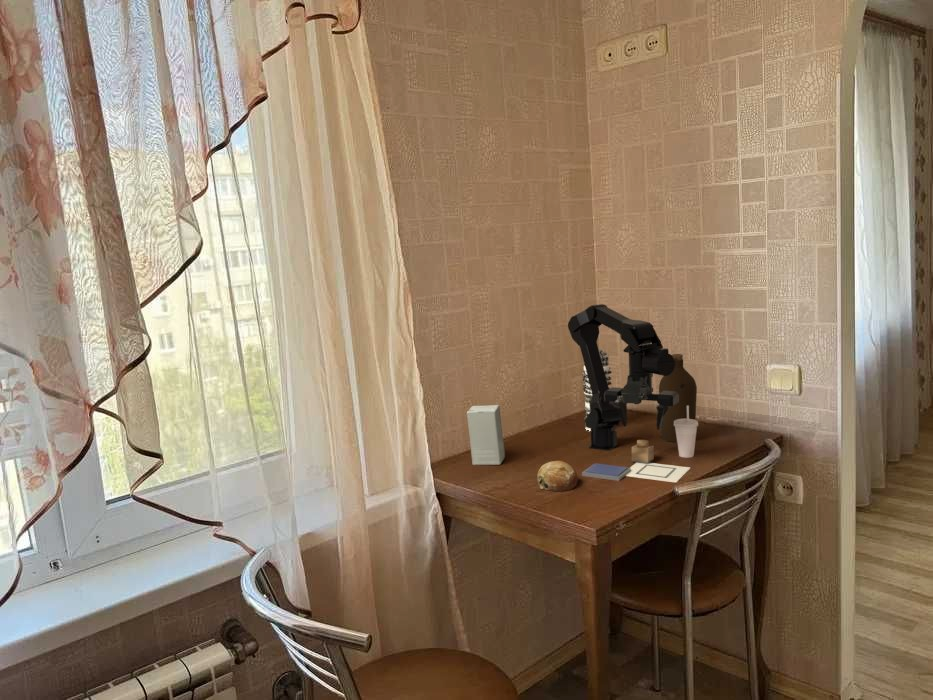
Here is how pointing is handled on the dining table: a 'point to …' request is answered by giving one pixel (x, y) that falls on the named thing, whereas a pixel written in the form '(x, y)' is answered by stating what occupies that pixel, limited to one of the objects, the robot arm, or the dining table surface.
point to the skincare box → (486, 435)
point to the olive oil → (687, 397)
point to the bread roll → (557, 476)
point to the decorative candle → (587, 385)
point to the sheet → (657, 471)
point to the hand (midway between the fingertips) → (641, 428)
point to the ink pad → (606, 471)
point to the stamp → (642, 452)
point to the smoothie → (686, 435)
